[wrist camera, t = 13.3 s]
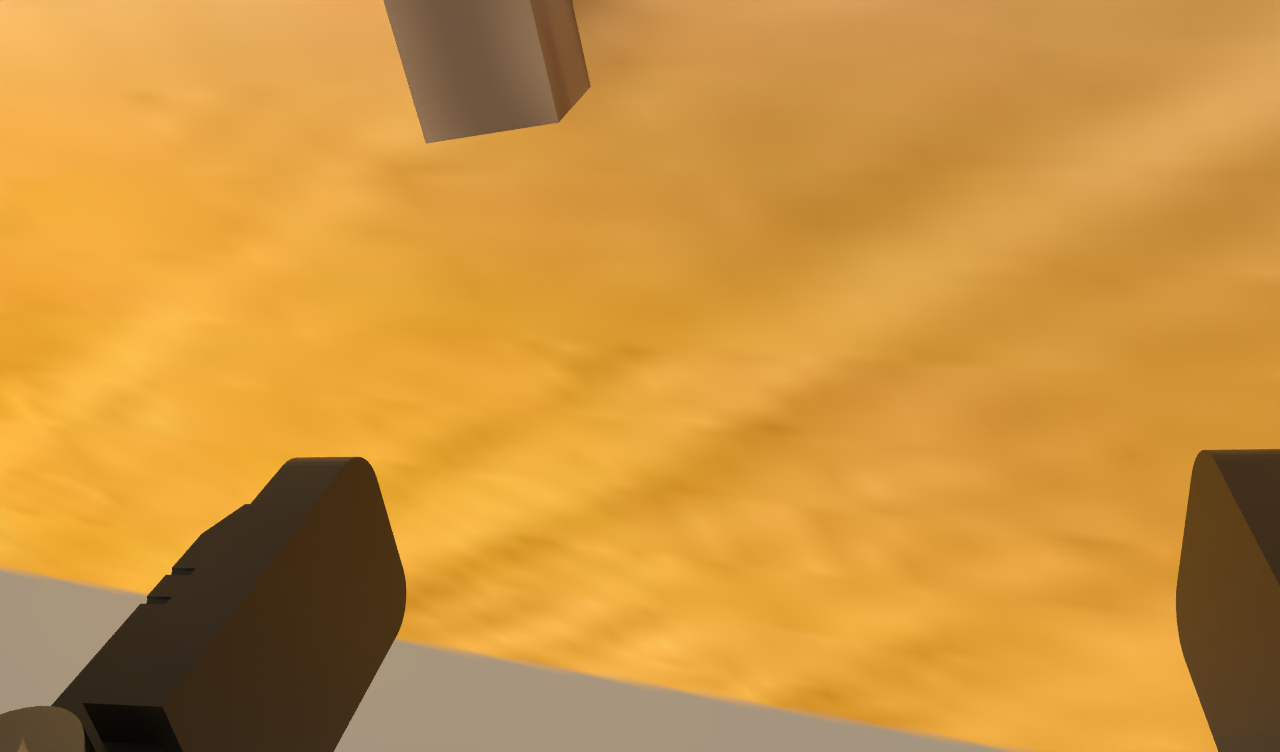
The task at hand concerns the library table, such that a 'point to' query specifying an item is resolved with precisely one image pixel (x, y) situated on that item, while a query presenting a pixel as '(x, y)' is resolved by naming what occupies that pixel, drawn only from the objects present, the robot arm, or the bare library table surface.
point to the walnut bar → (488, 63)
